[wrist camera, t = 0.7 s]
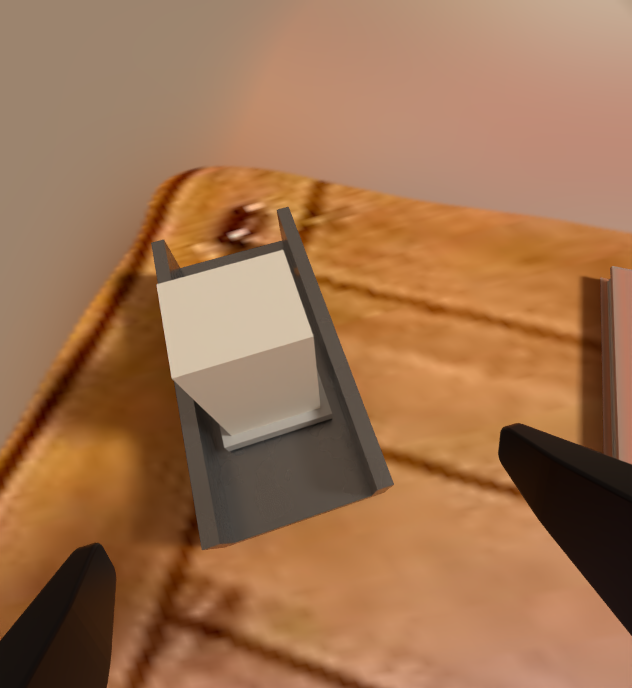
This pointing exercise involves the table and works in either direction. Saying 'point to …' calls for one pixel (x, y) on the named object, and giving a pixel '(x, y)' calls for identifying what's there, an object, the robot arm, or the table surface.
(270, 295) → the cream rectangular block
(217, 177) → the table surface
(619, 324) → the notebook
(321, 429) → the rail housing
